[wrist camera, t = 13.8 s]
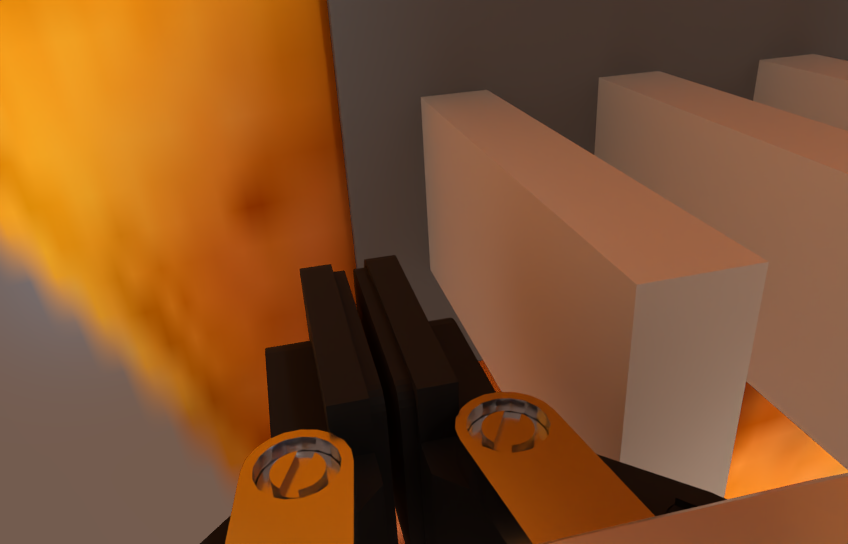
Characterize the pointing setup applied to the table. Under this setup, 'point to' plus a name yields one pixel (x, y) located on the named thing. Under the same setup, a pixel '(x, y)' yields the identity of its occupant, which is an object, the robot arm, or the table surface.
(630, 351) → the domino
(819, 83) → the domino
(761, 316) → the domino
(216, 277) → the table surface
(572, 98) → the mat
